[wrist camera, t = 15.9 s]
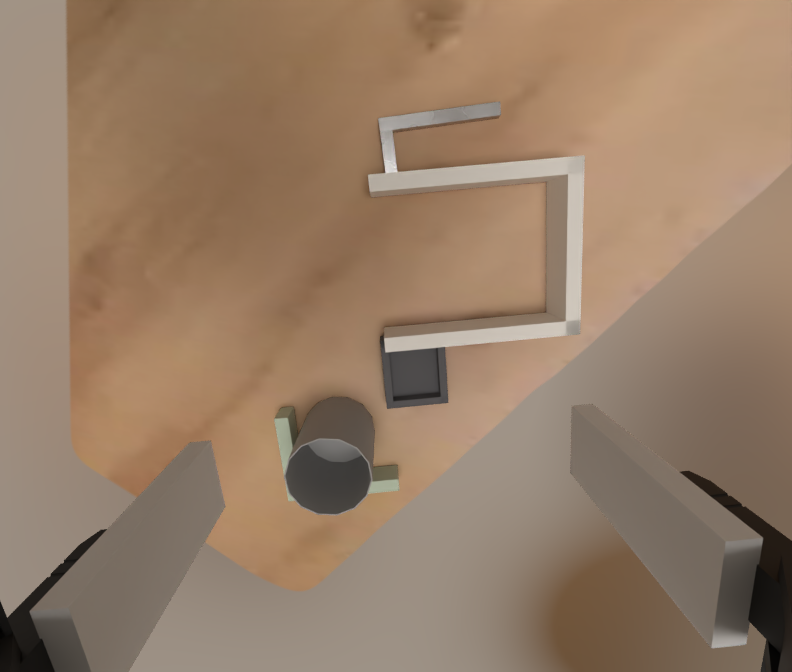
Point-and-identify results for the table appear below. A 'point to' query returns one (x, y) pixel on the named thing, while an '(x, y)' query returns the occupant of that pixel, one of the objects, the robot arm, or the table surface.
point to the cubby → (560, 250)
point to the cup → (332, 458)
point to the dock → (288, 434)
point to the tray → (414, 377)
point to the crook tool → (429, 124)
